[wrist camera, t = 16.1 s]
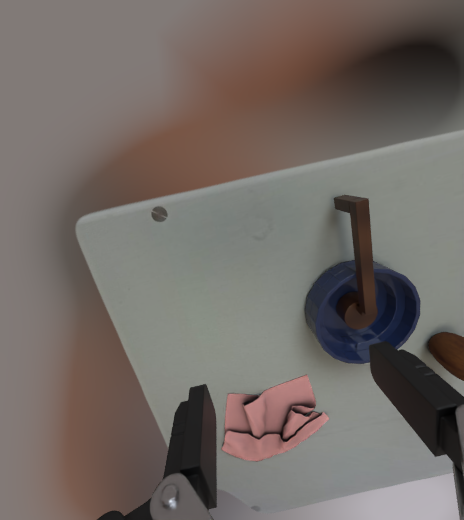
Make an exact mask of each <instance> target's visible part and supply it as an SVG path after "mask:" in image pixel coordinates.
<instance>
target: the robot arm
mask: <svg viewBox="0 0 464 520" xmlns="http://www.w3.org/2000/svg"><path fill="white" fill-rule="evenodd" d="M369 355H370V368H371V373H372V376H373V379H374V380H375V382H376V384H377V385H378V386H379V388H380V389H381V390H382V391H383V392H384V394H385V395H386V396H387V397H388V399H389V400H390V401H391V402H392V404H393V405H394V406H395V407H396V409H397V410H398V411H399V412H400V414H401V415H402V416H403V417H404V418H405V420H406V421H407V422H408V423H409V425H410V426H411V427H412V428H413V430H414V431H415V432H416V433H417V435H418V436H419V437H420V438H421V440H422V441H423V442H424V443H425V445H426V446H427V447H428V448H429V449H430V451H431V452H432V453H433V454H434V456H435V457H436V456H441V455H445V454H447V455H448V457H449V458H450V459H451V460H452V461H453V473H454V480H455V488H456V495H457V502H458V510H459V516H460V520H464V397H463V396H462V395H461V394H460V393H459V392H457V391H456V390H455V389H454V388H453V387H451V386H450V385H449V384H448V383H447V382H446V381H444V380H443V379H442V378H441V377H440V376H439V375H437V374H435V372H434V371H433V370H432V369H430V368H429V367H427V366H426V364H425V363H423V362H422V361H421V360H420V359H419V358H418V357H416V356H415V355H413V354H411V353H409V352H407V351H405V350H399V351H398V350H397V349H396V348H394V347H393V346H392V345H391V344H390V343H389V342H387V341H384V342H380V343H376V344H372V345H370V346H369ZM216 492H217V477H216V414H215V409H214V406H213V403H212V400H211V397H210V394H209V391H208V388H207V385H206V384H203V385H199V386H195V387H191V388H190V391H189V399H188V401H184V402H181V403H180V405H179V407H178V409H177V410H176V412H175V416H174V421H173V427H172V433H171V438H170V444H169V450H168V455H167V461H166V466H165V472H164V477H163V480H162V481H161V482H160V483H159V484H158V486H157V487H156V489H155V491H154V492H153V495H152V497H151V498H150V499H149V500H148V501H147V502H146V503H144V504H143V505H141V506H140V507H138V508H137V509H135V510H133V511H132V512H130V513H129V514H127V515H126V516H123V515H122V513H120V512H119V511H110V512H108V513H106V514H104V515H103V516H101V517H100V518H99V519H97V520H214V519H213V518H212V516H211V515H210V513H209V511H208V510H209V509H211V508H216V507H217V493H216Z"/></svg>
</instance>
